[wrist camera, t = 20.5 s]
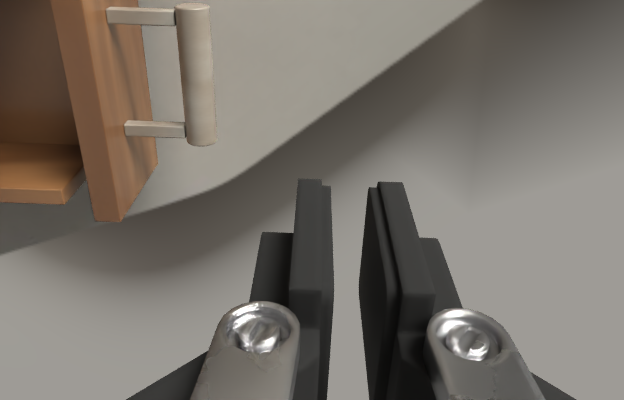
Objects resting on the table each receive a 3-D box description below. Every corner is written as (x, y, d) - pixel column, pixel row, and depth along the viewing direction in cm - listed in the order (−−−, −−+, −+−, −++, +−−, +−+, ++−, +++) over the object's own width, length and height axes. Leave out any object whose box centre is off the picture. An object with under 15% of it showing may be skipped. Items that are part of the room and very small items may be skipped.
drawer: (221, -84, 23) (189, -82, 18) (232, 166, 29) (212, 225, 24) (-176, -99, 23) (-332, -102, 18) (-81, 154, 29) (-175, 212, 24)
